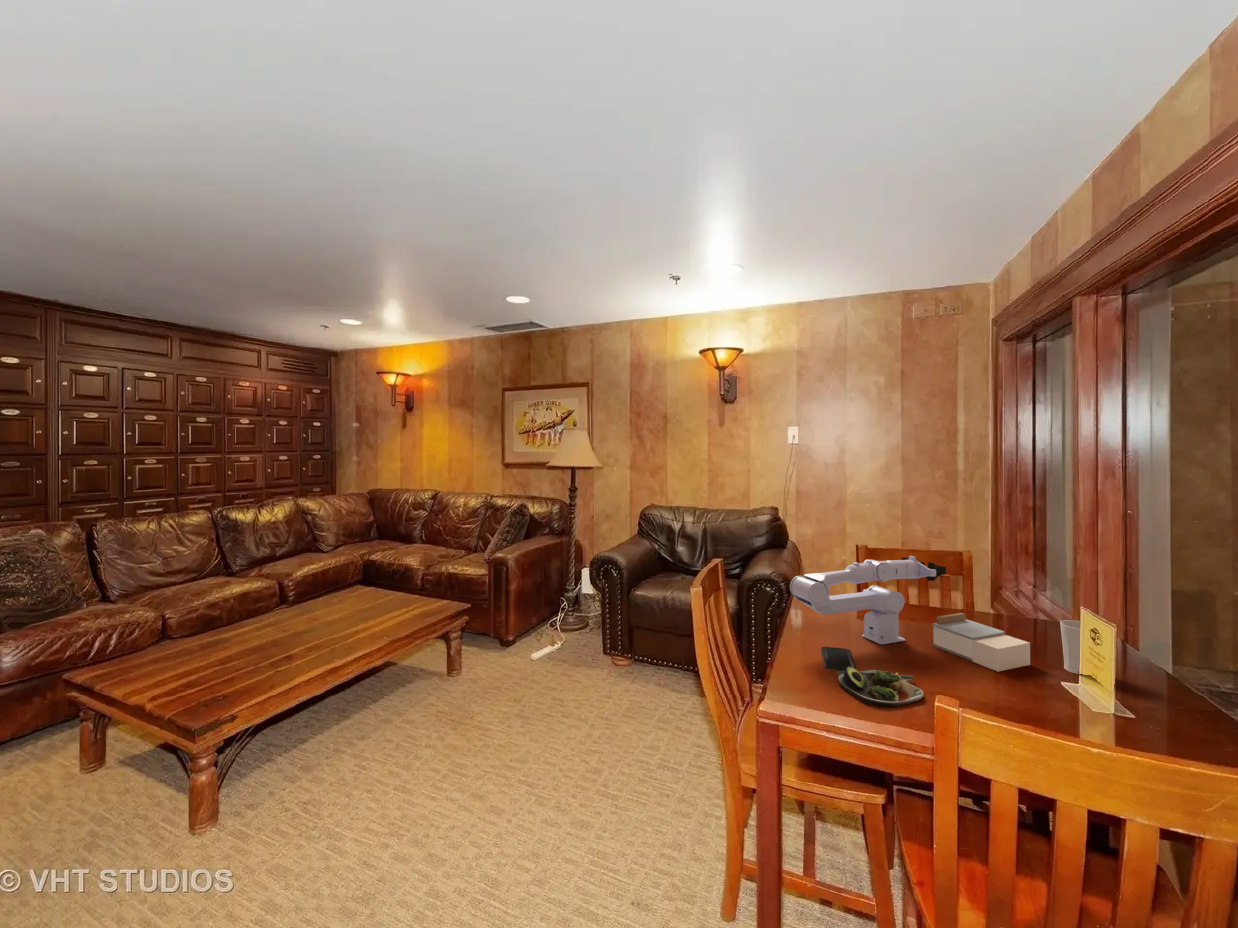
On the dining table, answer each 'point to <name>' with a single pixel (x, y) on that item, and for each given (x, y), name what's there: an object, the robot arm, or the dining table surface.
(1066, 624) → the cup
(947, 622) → the lid
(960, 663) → the dining table surface
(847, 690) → the salad plate
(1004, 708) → the dining table surface
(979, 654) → the carton
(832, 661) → the phone
